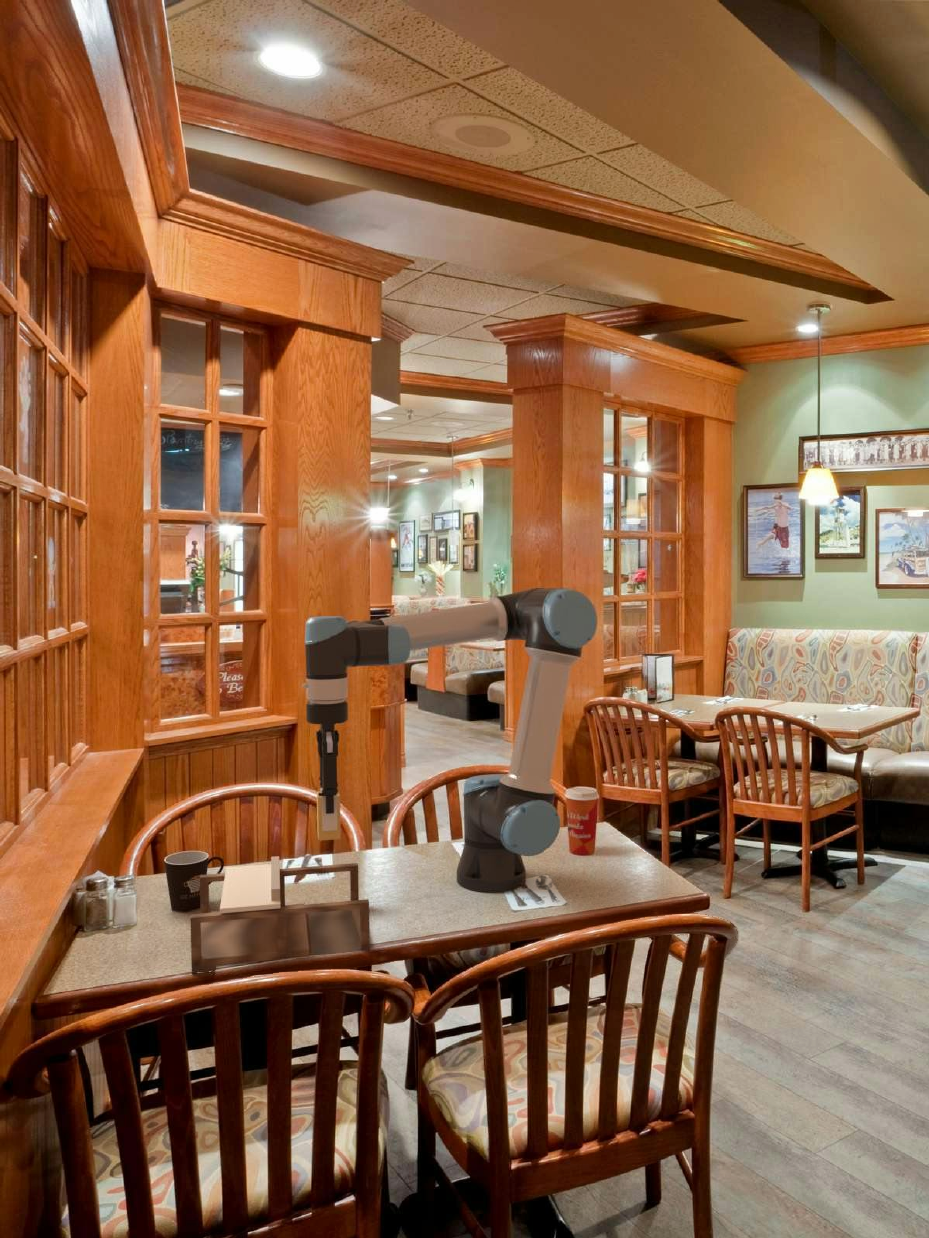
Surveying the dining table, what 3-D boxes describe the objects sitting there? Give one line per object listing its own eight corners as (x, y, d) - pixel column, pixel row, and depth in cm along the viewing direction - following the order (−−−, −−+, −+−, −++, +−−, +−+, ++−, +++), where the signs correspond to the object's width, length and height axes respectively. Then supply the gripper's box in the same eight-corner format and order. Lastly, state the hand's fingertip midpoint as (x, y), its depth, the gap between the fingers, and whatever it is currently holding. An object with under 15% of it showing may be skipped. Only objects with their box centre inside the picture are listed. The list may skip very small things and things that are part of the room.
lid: (279, 867, 173) (279, 853, 173) (280, 908, 152) (280, 892, 152) (226, 871, 171) (225, 857, 170) (219, 913, 150) (219, 897, 150)
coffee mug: (164, 916, 174) (163, 866, 174) (166, 900, 183) (164, 853, 182) (225, 909, 178) (224, 860, 177) (224, 894, 186) (223, 847, 185)
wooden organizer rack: (358, 910, 177) (357, 862, 176) (369, 956, 156) (369, 902, 155) (201, 924, 170) (200, 874, 170) (191, 974, 149) (190, 917, 149)
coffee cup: (557, 851, 213) (557, 789, 212) (579, 844, 218) (579, 784, 218) (584, 859, 207) (584, 796, 206) (606, 851, 212) (607, 790, 211)
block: (339, 832, 166) (338, 790, 166) (340, 838, 162) (340, 795, 162) (317, 834, 165) (316, 791, 165) (318, 840, 161) (317, 797, 161)
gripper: (304, 695, 170) (306, 815, 171) (308, 708, 153) (310, 841, 154) (343, 693, 171) (345, 812, 173) (351, 706, 155) (353, 838, 156)
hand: (328, 826), depth 164 cm, fingers closed on block, 4 cm apart
